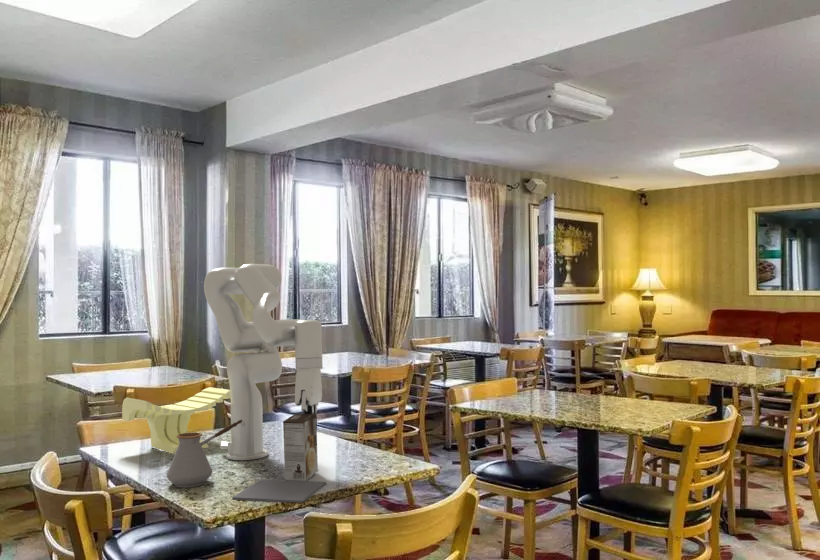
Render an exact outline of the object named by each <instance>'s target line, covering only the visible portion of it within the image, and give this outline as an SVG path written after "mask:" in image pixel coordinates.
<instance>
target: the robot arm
mask: <svg viewBox="0 0 820 560" xmlns="http://www.w3.org/2000/svg"><path fill="white" fill-rule="evenodd" d="M203 281H204V282H203V291H204V297H205V300H206V301H207V304H208V305H209V307H210V309H211V311H212V313H213V315H214V318H215V322H216V324H217V328H218V330H219V334H220V338H221V340H222V343H223V345H224V348H225V349H226V350H227V351H228V352H230V353H239V354H235V355H233V356H232V357H231V358H230V359H229V360H228V362H227V365H226V373H227V378H228V383H229V384H228V385H229V390H230V425H232V424H233V423H234V422H235V423H236V422H237V421H239V420H242V421H243V422H244V423H245V426H244V423H243V422H241V423H242V425H243V426H242V425H241V423H240V424H237V426H236V427H233V428H232V429H230V441H221V442H220V443H219V448H220V449H221V450H227V452H226V455H225V458H226V459H228V460H232V461H250V460H258V459H262V458H265V457H267V456H268V455H269V451H268V449H266V448H264V447H263V446H264V439H263V438H264V437H263V436H264V434H263V432H264V431H263V425H264V424H263V396H262V393H261V392H260V390H259V388H258V386H257V385H256V384H260V383H267V382H274V381H276V380H277V379H279V378H280V376H281V375H282V371H283V363H282V359H281V355H280V353H279V349H278V347H287V346H294V349H295V350H294V351H295V353H294V354H295V357H294V358H295V371H296V372H295V386H294V388H295V389H294V393H295V394H294V404H295V406H297V407H299V406H301V408H300V409H301V411H302V414H316V424H317V425H318V417H317V415H318V406H319V403H320V402H321V401H322V400H323V399H322V398H323V385H322V371H321V370H323V366H324V365H323V330H322V329H323V328H322V322H321V321H320V320H317V319H302V318H300V319H299V318H298V319H295V318H294V319H291V318H289V319H287V318H286V319H274V318H273V317H272V315H271V314H270V312H272V311H273V310H274V309H275V308H277V307H278V305H279V303H280V300H281V294H280V292H279V290H277V289H279V288H280V286H281V284H282V274H281V272H280V270H279V269H278V268H277V267H276V266H275V265H272V264H267V263H264V264H263V263H246V264H243V265H241V266H239V267H217V268H214V269H211V270H210V271H208V272H207V274H206V275H205V277H204V280H203ZM230 295H244V296H245V297H246V298H247V300H248V301H249V302H250V304H251V305H252V306H253V311H252V321H248V320H246V318H245V316H244V313H243V310H242V308H241V305H240V304H238V302H237V301H236V300H235V299H233V297H231V296H230Z"/></svg>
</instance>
